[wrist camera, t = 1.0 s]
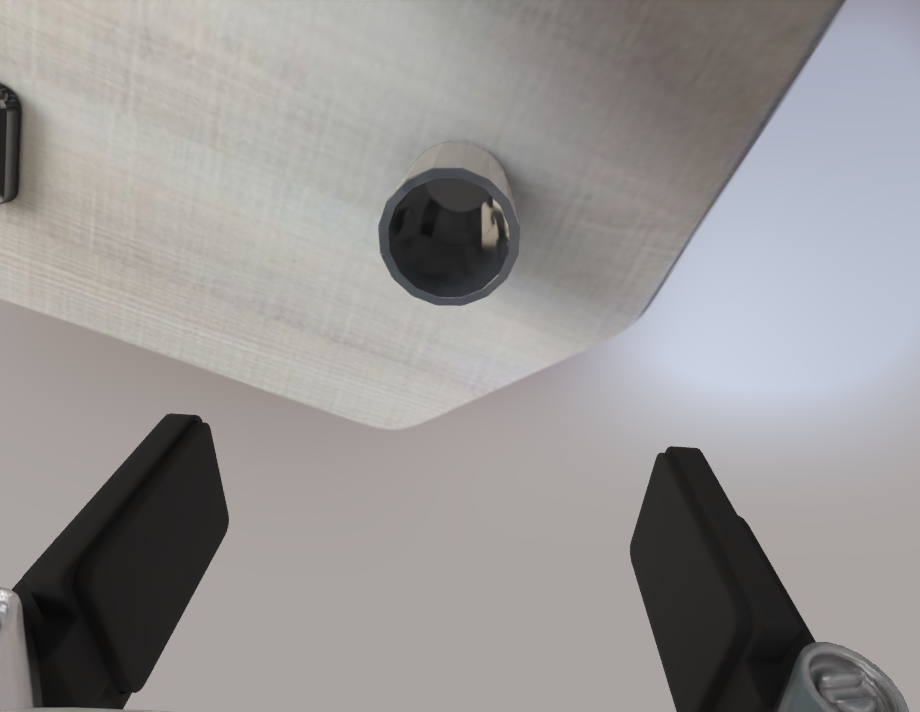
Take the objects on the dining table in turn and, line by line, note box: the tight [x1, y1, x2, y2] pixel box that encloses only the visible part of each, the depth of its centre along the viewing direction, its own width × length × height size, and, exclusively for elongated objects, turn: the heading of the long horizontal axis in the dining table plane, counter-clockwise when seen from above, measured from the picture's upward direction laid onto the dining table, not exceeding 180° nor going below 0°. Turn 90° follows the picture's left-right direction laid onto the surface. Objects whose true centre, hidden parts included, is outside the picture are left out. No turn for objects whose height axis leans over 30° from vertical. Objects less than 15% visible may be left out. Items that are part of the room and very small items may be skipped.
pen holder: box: [378, 141, 520, 306], centre depth 31 cm, size 7×7×10 cm
